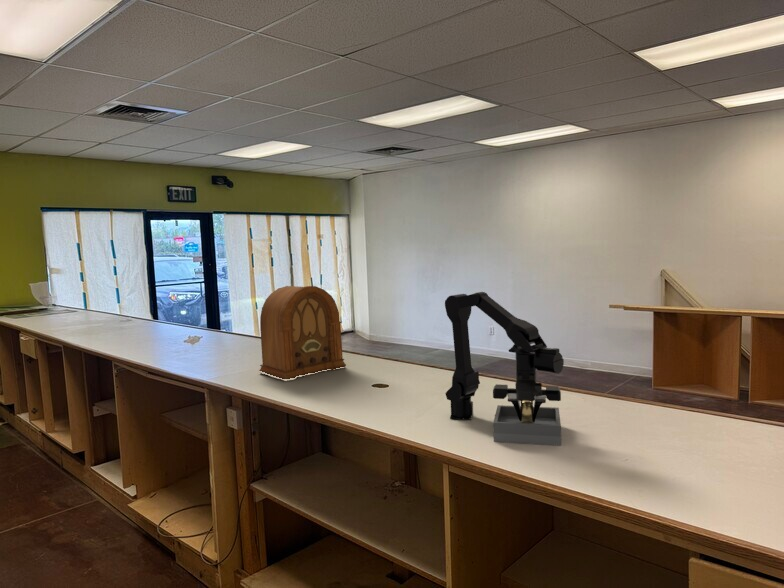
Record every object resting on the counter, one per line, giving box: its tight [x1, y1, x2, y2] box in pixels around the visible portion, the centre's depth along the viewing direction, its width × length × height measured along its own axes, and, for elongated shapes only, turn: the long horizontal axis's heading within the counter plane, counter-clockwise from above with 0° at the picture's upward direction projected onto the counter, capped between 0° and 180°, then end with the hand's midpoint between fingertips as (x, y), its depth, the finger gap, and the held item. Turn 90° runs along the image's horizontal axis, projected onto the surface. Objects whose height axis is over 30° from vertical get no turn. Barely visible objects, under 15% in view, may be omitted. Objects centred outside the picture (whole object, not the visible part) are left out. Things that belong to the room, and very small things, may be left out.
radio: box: [258, 285, 347, 379], centre depth 240 cm, size 33×23×40 cm
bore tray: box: [492, 404, 562, 446], centre depth 150 cm, size 18×16×6 cm
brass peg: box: [520, 400, 534, 423], centre depth 150 cm, size 3×3×8 cm
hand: (527, 421), depth 150 cm, fingers closed on brass peg, 3 cm apart
